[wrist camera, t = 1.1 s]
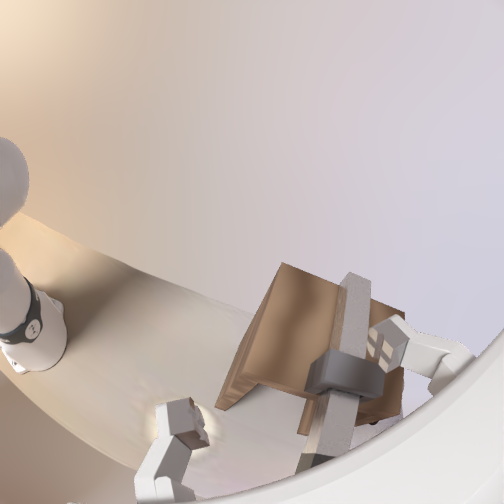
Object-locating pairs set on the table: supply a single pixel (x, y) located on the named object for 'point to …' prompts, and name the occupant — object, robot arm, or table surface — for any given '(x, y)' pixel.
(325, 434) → the steel pull bar
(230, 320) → the table surface
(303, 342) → the walnut shelf stand
